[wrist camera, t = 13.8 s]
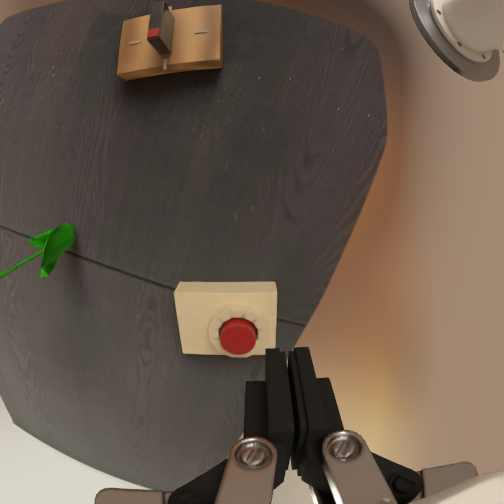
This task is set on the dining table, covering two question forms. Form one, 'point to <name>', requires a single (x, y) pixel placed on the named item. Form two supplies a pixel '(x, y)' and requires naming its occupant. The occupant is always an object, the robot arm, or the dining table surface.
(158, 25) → the black block
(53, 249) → the flower
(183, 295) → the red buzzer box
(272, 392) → the robot arm
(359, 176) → the dining table surface
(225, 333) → the red button
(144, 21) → the dial panel
